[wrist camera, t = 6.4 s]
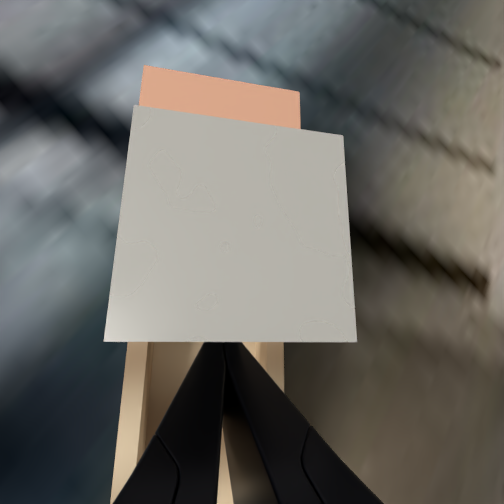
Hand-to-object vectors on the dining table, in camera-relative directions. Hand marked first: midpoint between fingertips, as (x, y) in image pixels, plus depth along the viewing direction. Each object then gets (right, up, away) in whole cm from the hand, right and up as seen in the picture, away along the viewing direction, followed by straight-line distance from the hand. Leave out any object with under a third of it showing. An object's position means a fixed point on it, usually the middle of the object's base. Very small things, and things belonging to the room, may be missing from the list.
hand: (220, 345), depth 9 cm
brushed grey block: (-1, +3, +8) cm, 8 cm away
